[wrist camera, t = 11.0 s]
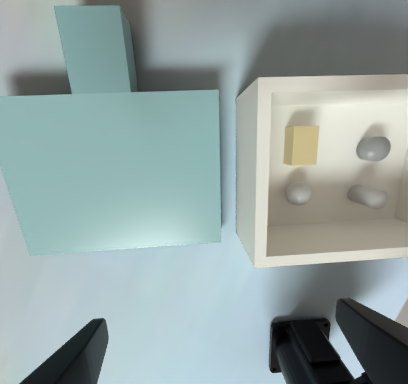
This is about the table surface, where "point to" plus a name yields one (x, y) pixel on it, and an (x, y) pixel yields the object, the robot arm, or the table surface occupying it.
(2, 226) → the table surface
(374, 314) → the robot arm
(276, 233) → the tub
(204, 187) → the lid
